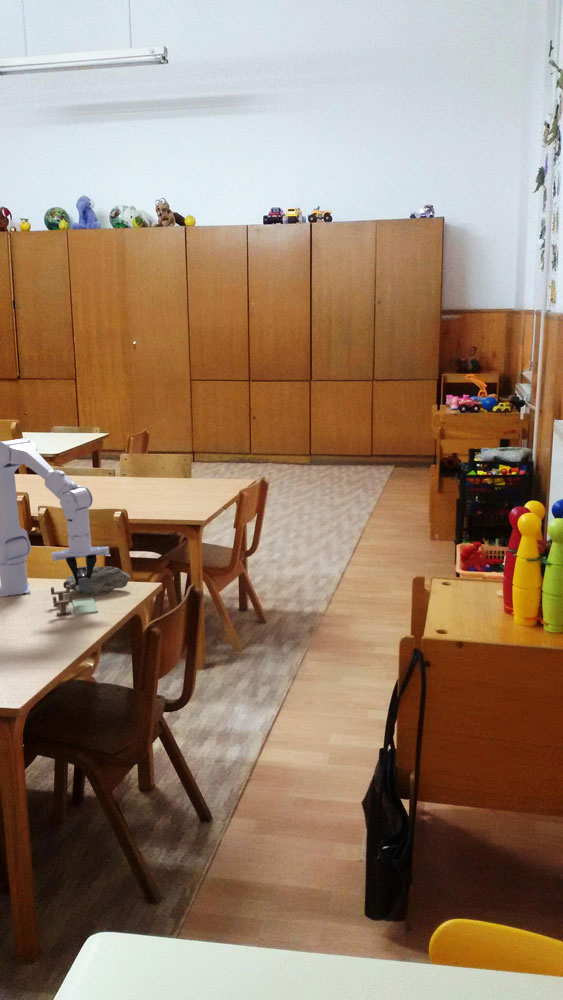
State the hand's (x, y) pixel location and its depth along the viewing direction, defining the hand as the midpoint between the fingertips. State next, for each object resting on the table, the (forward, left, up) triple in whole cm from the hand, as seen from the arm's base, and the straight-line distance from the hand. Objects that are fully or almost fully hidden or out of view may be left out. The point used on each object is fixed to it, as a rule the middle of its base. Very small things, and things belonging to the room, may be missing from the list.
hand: (83, 583), depth 213 cm
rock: (-13, +5, -7) cm, 15 cm away
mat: (0, 0, -6) cm, 6 cm away
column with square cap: (0, 0, 0) cm, 0 cm away
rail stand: (0, -6, -6) cm, 8 cm away
